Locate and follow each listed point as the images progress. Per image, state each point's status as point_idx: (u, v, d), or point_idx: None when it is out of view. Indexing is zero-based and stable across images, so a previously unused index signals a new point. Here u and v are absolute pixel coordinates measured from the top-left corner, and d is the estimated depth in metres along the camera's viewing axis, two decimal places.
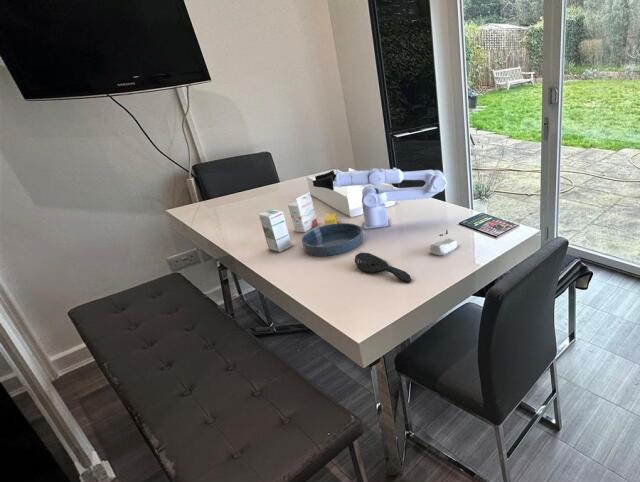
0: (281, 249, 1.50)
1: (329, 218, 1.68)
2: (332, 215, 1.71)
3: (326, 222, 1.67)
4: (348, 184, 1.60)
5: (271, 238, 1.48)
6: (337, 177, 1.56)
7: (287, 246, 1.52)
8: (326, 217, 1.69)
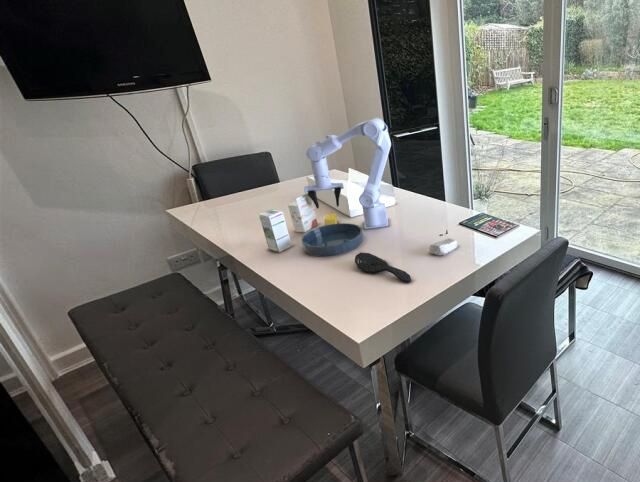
0: (281, 249, 1.50)
1: (329, 218, 1.68)
2: (332, 215, 1.71)
3: (326, 222, 1.67)
4: (315, 179, 1.61)
5: (271, 238, 1.48)
6: None
7: (287, 246, 1.52)
8: (326, 217, 1.69)
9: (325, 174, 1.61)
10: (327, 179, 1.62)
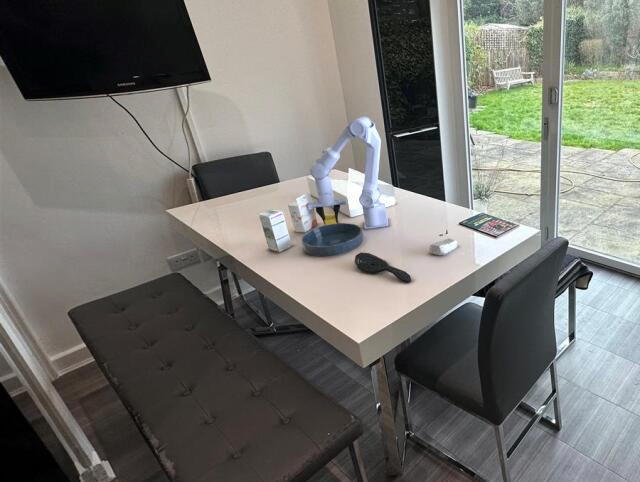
0: (281, 249, 1.50)
1: (329, 218, 1.68)
2: (332, 215, 1.71)
3: (326, 222, 1.67)
4: (319, 197, 1.64)
5: (271, 238, 1.48)
6: None
7: (287, 246, 1.52)
8: (326, 217, 1.69)
9: (329, 191, 1.64)
10: (330, 196, 1.65)
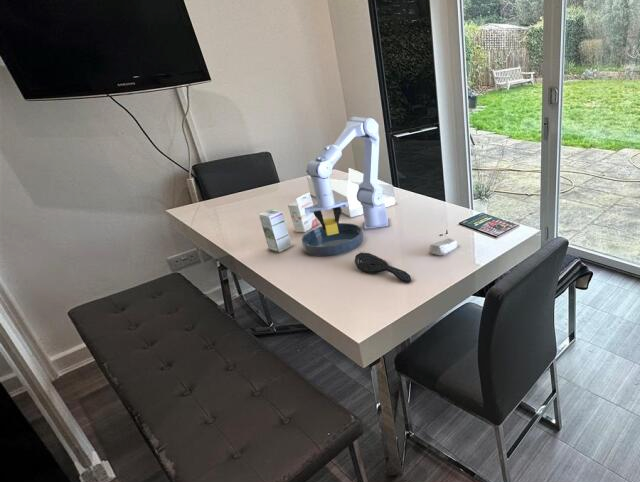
0: (281, 249, 1.50)
1: (329, 223, 1.50)
2: (331, 219, 1.53)
3: (327, 227, 1.49)
4: (318, 199, 1.45)
5: (271, 238, 1.48)
6: None
7: (287, 246, 1.52)
8: (325, 222, 1.51)
9: (331, 190, 1.48)
10: (331, 198, 1.47)
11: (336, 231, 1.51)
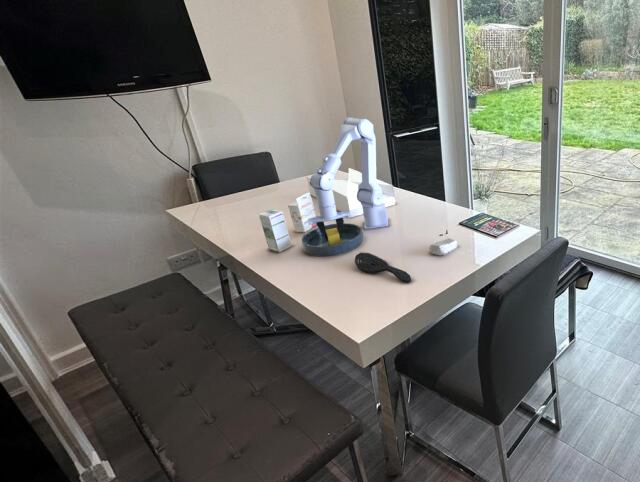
0: (281, 249, 1.50)
1: (332, 233, 1.53)
2: (334, 230, 1.56)
3: (330, 238, 1.51)
4: (321, 210, 1.48)
5: (271, 238, 1.48)
6: None
7: (287, 246, 1.52)
8: (328, 232, 1.54)
9: (334, 202, 1.51)
10: (334, 209, 1.50)
11: (338, 241, 1.53)
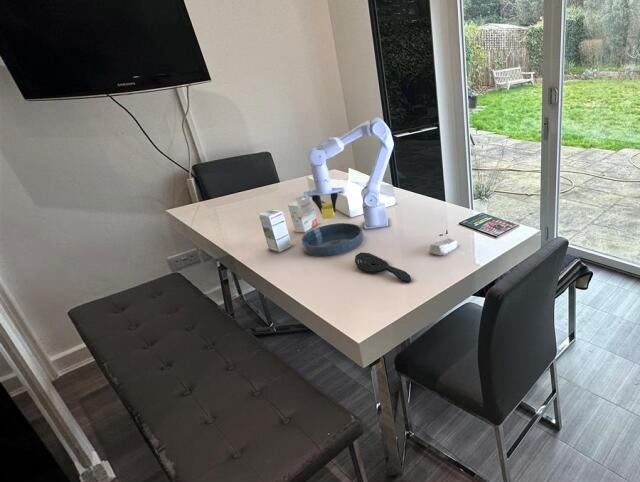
0: (281, 249, 1.50)
1: (326, 207, 1.60)
2: (329, 204, 1.63)
3: (323, 211, 1.58)
4: (316, 184, 1.56)
5: (271, 238, 1.48)
6: None
7: (287, 246, 1.52)
8: (323, 206, 1.61)
9: (327, 178, 1.56)
10: (328, 184, 1.57)
11: (331, 215, 1.60)
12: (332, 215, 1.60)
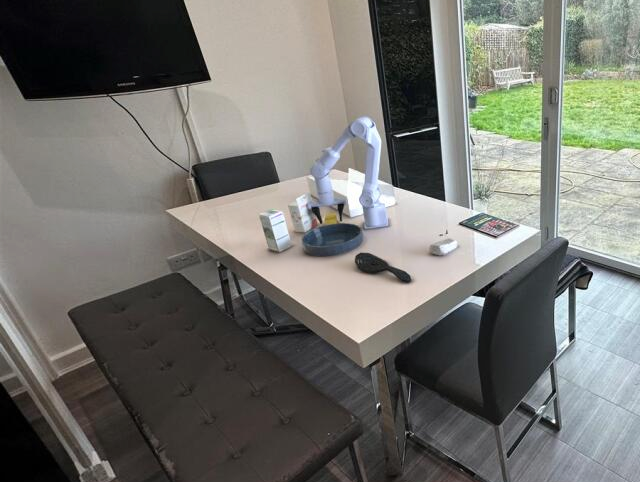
0: (281, 249, 1.50)
1: (329, 218, 1.68)
2: (332, 215, 1.71)
3: (326, 222, 1.67)
4: (319, 196, 1.63)
5: (271, 238, 1.48)
6: None
7: (287, 246, 1.52)
8: (326, 217, 1.69)
9: (328, 191, 1.63)
10: (330, 195, 1.65)
11: None
12: None
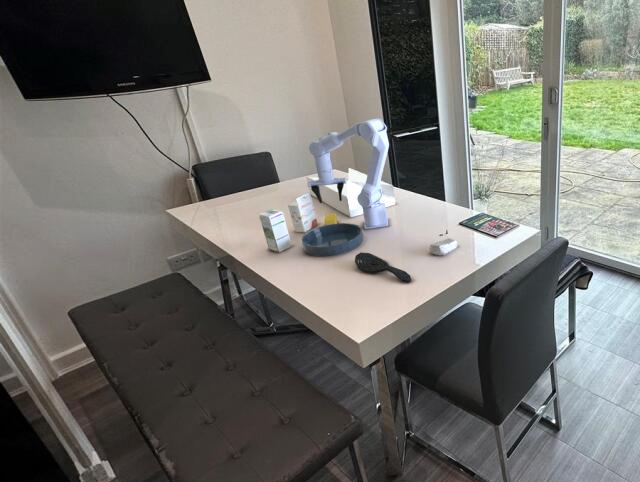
0: (281, 249, 1.50)
1: (329, 218, 1.68)
2: (332, 215, 1.71)
3: (326, 222, 1.67)
4: (319, 174, 1.64)
5: (271, 238, 1.48)
6: None
7: (287, 246, 1.52)
8: (326, 217, 1.69)
9: (327, 169, 1.64)
10: (330, 174, 1.65)
11: None
12: None
